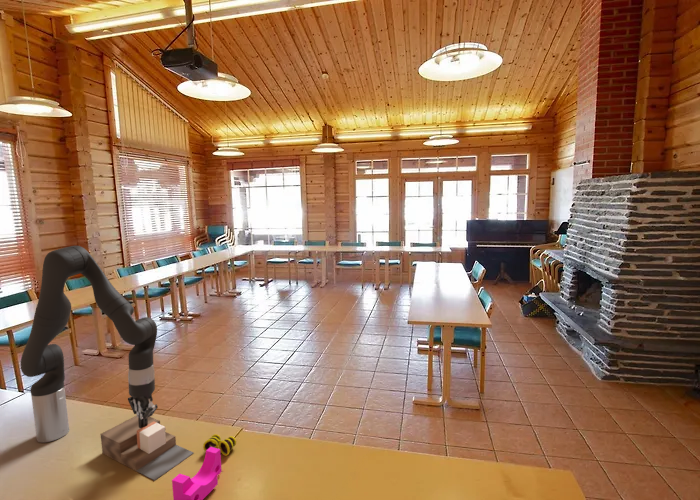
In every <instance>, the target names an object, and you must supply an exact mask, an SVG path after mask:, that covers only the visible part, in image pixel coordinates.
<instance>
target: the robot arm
mask: <svg viewBox="0 0 700 500" xmlns="http://www.w3.org/2000/svg"><path fill="white" fill-rule="evenodd" d="M79 274H81V275H82V276H83V277H85V279H86V280H87V281H89V283H90V284H91V288H92V291H93V298H94V301H95V304H96V305H97V307H98V308H99V309H100V310H101V312H103V313H104V315H105V316H106V317H108V318H109V320H111V321H112V322H113V325H114V327H115V329H116V331H117V332H118V334H119V336H120V338H121V339H122V340H123V342H125V343H127V344H129V345H132V346H133V347H132V348H131V349H130V351H129V352H128V374H127V375H128V376H127V378H128V379H127V380H128V394H129V396H130V397H129V396H128V397H127V401H128V403H129V406H130V408H131V410H132V412H133V414H134V415H137V417H138V422H139V428H142V427H145V426H147V425H148V417H152V416H154V413H155V412H156V411H157V409H158V406H159V405H158V404H156V403H155V404H154V403H153V401H154V400H153V399H154V398H153V396H152V395H153V393H154V392H155V390H156V389H155V388H156V382H155V381H156V380H155V379H156V378H155V367H154V350H155V347H156V341H157V335H158V328H157V327H158V326H157V323H156V321H155V320H154V319H152V318H151V317H148V316H145V317H141V318H139V319H137V320H135V319H134V318H133V317H132V315H133V314H134V312H135V308H134V306H133V305H132V304H131V303H130V302H129V300H127V299H126V298H125V297H124V296H123V295H122V294H121V293H120V292H119V291H118V290H117V289H116V288H115V287H114V286H113V284H112V282H111V281H110V280H109V279H108V277H107V276H106V274H105V272H104V271H103V270H102V268H101V267H100V266H99V265H98V263H97V262H96V259H94V257H93V256H92V254H91V253H90V252H89V251H88V250H87V249H86V248H85V247H83V246H80V245H71V246H65V247H63V248H58V249H54V250H52V251H50V252H48V253H46V255H45V257H44V260H43V263H42V275H41V285H40V289H39V295H38V300H37V304H36V308H35V311H34V316H33V320H32V326H31V329H30V334H29V337H28V340H27V342H26V344H25V347H24V349H23V351H22V355H21V359H20V370H21V372H22V374H23V375H24V376H25V377H27V378H28V377H29V378H33V377H37V376H40V375H42V377H41V378H39V379H38V380H37V381H35V382H34V383H33V384H32V385H31V386H30V394H31V395H30V397H31V404H32V410H33V420H34V428H35V435H36V436H35V437H36V441H37V442H38V443H49V442H53V441H56V440H58V439H60V438H63V437H64V436H66V435H67V434H68V433H69V431H70V424H69V416H68V407H67V400H66V398H67V397H66V391H65V381H66V380H65V379H66V377H65V358H64V352H63V349H62V348H61V346H60V345H58V344H56V343H52V344H51V342H52V341H53V340H54V339H55V338H56V337H57V336H59V334H60V333H61V332H62V331H63V330H64V329H65V327H66V326H67V324H68V323H69V319H70V316H71V312H72V303H71V301H70V299H69V297H68V296H67V295H66V294H65V293H64V292H65V291H64V289H65V286H66V282H67V279H69V278H71V277H73V276H75V275H79ZM43 374H44V375H43Z"/></svg>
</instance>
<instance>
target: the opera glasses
mask: <svg viewBox="0 0 700 500" xmlns="http://www.w3.org/2000/svg"><path fill="white" fill-rule="evenodd" d="M236 445H237V440H236V438H235V437H234V436H229V437H228V438H225V439H224V440H222V439H221V435H219V434H213V435H211V436H210V438H208V439H206V440H205V442H204V443H203V446H202V448H203V450H204V452H205V453H206V450H207V449H208V448H210V447H214V448H217V449H220V454H222V455H223V456H225V457H226V456H228V455H229V454H230V452H231V451H232V450H233V449H234V447H235V446H236Z"/></svg>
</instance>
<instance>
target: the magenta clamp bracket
mask: <svg viewBox="0 0 700 500" xmlns="http://www.w3.org/2000/svg"><path fill="white" fill-rule="evenodd" d="M221 454H222V453H221V452H220V449H219V448H218V449H217V448H214V447H210V448H208V449H207V450H206V452H205V456H204V460H203V462H202V464H201V466H200V468H199V470H198V471H197V472H196V474H195V475H194V476H192V477H191V476H188V475H185V474H182V473H178V474H177V475H176V476H175V477H174V478H172V479H171V482H172V483H171V485H172V497H173V500H204V499H205V498H206V497H207V496H208V495H209V494H210V493H211V492H212V491H213V490H214V489H215V488H216V486H217V485H219V482H218V477H219V475H221V473H222V459H221V458H222V456H221Z"/></svg>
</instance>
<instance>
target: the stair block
mask: <svg viewBox="0 0 700 500" xmlns="http://www.w3.org/2000/svg"><path fill="white" fill-rule="evenodd" d="M153 421H155V422H157V423H159V424H161V420H159V419H157V418H154V417H152V416H150V417H148V424H150V423H151V422H153ZM139 429H141V428H139V422H138V417H137V414H135V416H132V417H131V418H129V419H126V420H125V421H123V422H121V423H119V424H116V425H115V426H114V427H111V428H109V429H108V430H105V431H103V432H102V433H100V441H101V443H100V444H101V451H102V454H103V455H105V456H107V457H108V458H111V459H112V460H114V461H116V462H118V463H120V464H121V465H124V466H126V467H128V468H130V469H131V470H133V471H134V472H137V473H138V474H141V475H142V476H144V477H146V478H149V479H150V480H152V481H154V482H155V481H157V480H158V479H159V478H161V477H162V476H164V475H165V474H167V473H168V472H169V471H171V470H172V469H174V468H175V467H176V466H177V465H179V464H181V463H182V462H184V461H185V460H186V459H188V458H189V457H190V456H193V455H194V454H195V452H193V451H191V450H189V449H187V448H184V447H182V446H180V445H177V442H176V440H177V439H176V436H175V435H174V434H171V433H169V432H167V431H165V433H166V443H165V444H164V445H162V446H161V447H159V448H157V449H156V450H154V451H153V452H151V453H150V454H148V453H147V452H145V451H143V450H141V449H139V448H138V447H137V430H139Z"/></svg>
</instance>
